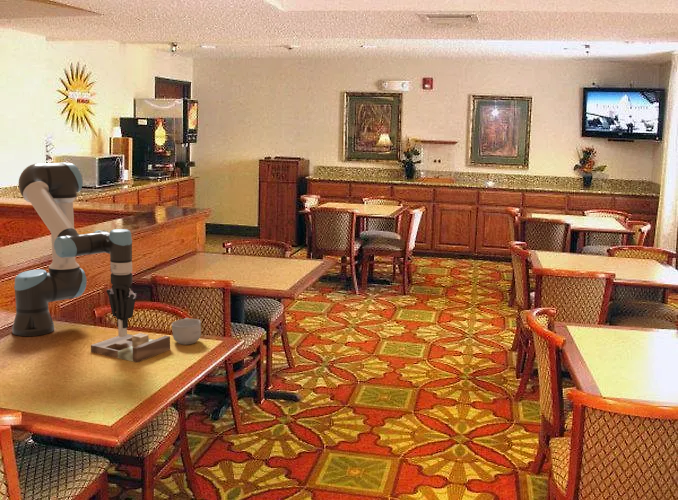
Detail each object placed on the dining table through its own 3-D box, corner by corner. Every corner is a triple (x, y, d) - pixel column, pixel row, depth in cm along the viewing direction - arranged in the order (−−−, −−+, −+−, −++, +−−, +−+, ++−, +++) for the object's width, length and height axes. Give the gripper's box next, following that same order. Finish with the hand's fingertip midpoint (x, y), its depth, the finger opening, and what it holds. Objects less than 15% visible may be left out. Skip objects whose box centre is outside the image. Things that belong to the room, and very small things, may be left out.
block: (132, 346, 270) (132, 335, 269) (140, 343, 273) (140, 333, 272) (140, 348, 268) (140, 337, 267) (148, 345, 271) (148, 334, 270)
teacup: (197, 347, 279) (197, 326, 277) (168, 346, 279) (168, 325, 278) (205, 336, 293) (205, 316, 291) (177, 335, 293) (177, 315, 291)
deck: (90, 351, 271) (90, 338, 270) (125, 339, 285) (124, 327, 284) (137, 362, 260) (136, 348, 260) (170, 349, 275) (169, 336, 274)
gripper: (100, 272, 269) (101, 335, 274) (127, 277, 263) (128, 341, 268) (115, 268, 276) (116, 330, 280) (142, 273, 270) (143, 336, 274)
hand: (122, 336), depth 274 cm, fingers closed
